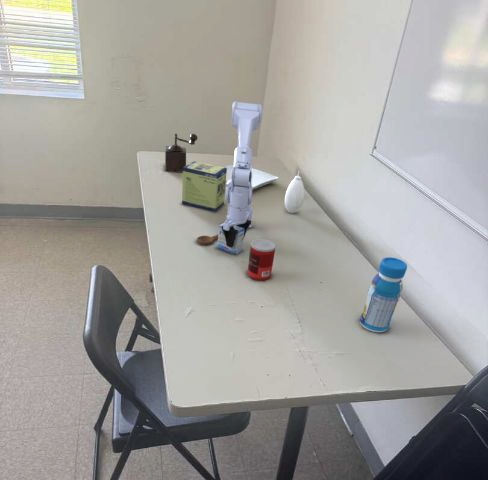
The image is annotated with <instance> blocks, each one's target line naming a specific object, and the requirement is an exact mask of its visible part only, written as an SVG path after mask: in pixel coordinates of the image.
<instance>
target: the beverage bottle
mask: <svg viewBox="0 0 488 480" xmlns="http://www.w3.org/2000/svg"><path fill="white" fill-rule="evenodd" d="M407 270H408V264H407V263H406V262H405V261H403V260H402V259H399V258H397V257H391V256H387V257H383V258H382V259H381V260H380V263H379V265H378V273H376V274H375V275H374V277H373V278H372V280H371V285H370V286H369V287H368V290H367V297H366V300H365V303H364V307H363V310H362V313H361V314H360V317H359V323H360V325H361V326H362V327H363V328H364V329H365V330H368V331H370V332H373V333H383V332H386V331H387V330H388V329H389V327H390V324H391V321H392V317H393V315H394V313H395V309H396V307H397V304H398V302H399V301H400V299H401V293H402V291H403V287H404V285H403V280H402V279H403V278H404V277H405V275H406V272H407Z"/></svg>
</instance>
